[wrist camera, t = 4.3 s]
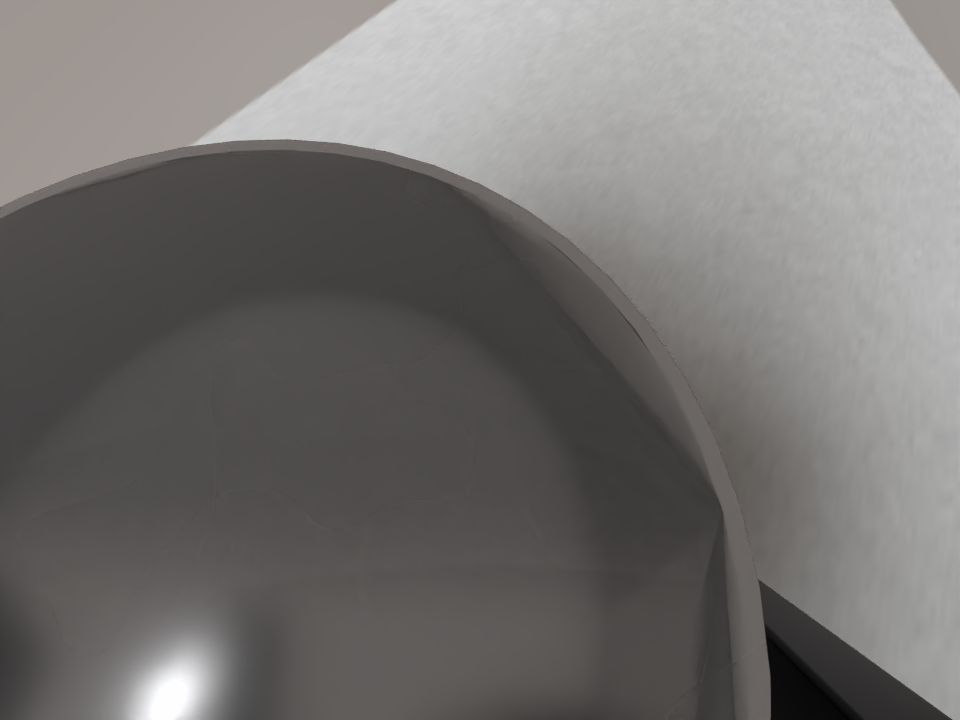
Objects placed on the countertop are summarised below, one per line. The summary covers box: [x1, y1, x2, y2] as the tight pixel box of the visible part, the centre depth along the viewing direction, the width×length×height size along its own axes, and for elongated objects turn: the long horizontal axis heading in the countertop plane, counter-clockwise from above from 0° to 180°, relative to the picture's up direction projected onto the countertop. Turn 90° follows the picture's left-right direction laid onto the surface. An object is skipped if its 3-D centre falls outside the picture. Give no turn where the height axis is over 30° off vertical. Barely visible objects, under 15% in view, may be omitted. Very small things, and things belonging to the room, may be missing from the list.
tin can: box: [0, 139, 771, 720], centre depth 8 cm, size 6×6×13 cm
